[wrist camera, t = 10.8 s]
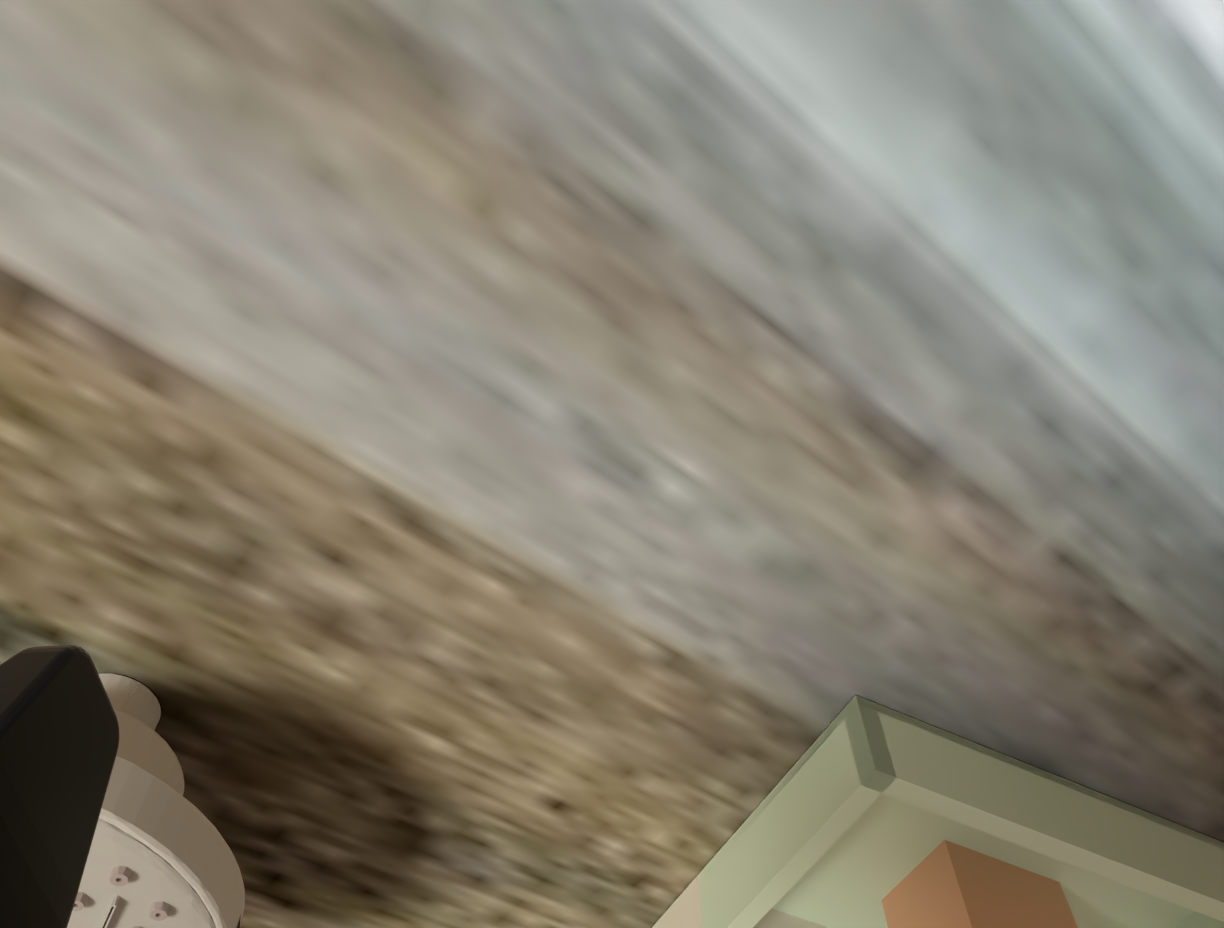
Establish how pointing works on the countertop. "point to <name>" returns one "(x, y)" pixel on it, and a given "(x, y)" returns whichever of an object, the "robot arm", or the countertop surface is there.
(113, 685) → the showerhead
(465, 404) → the countertop surface
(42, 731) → the robot arm
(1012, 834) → the tray
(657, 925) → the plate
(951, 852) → the peach rectangular box
